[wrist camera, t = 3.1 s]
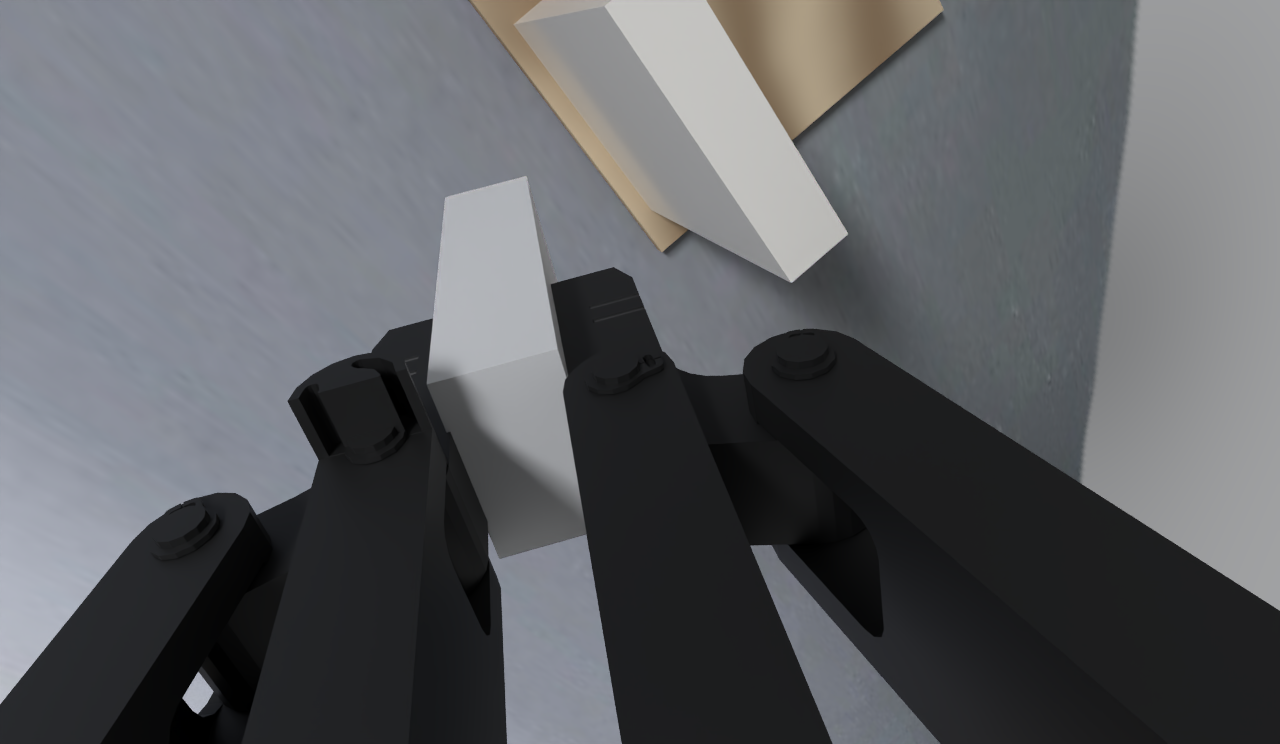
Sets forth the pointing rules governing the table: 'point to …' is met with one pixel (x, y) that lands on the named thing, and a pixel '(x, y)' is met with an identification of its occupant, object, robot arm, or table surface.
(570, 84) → the tile
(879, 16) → the mat
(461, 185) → the table surface
